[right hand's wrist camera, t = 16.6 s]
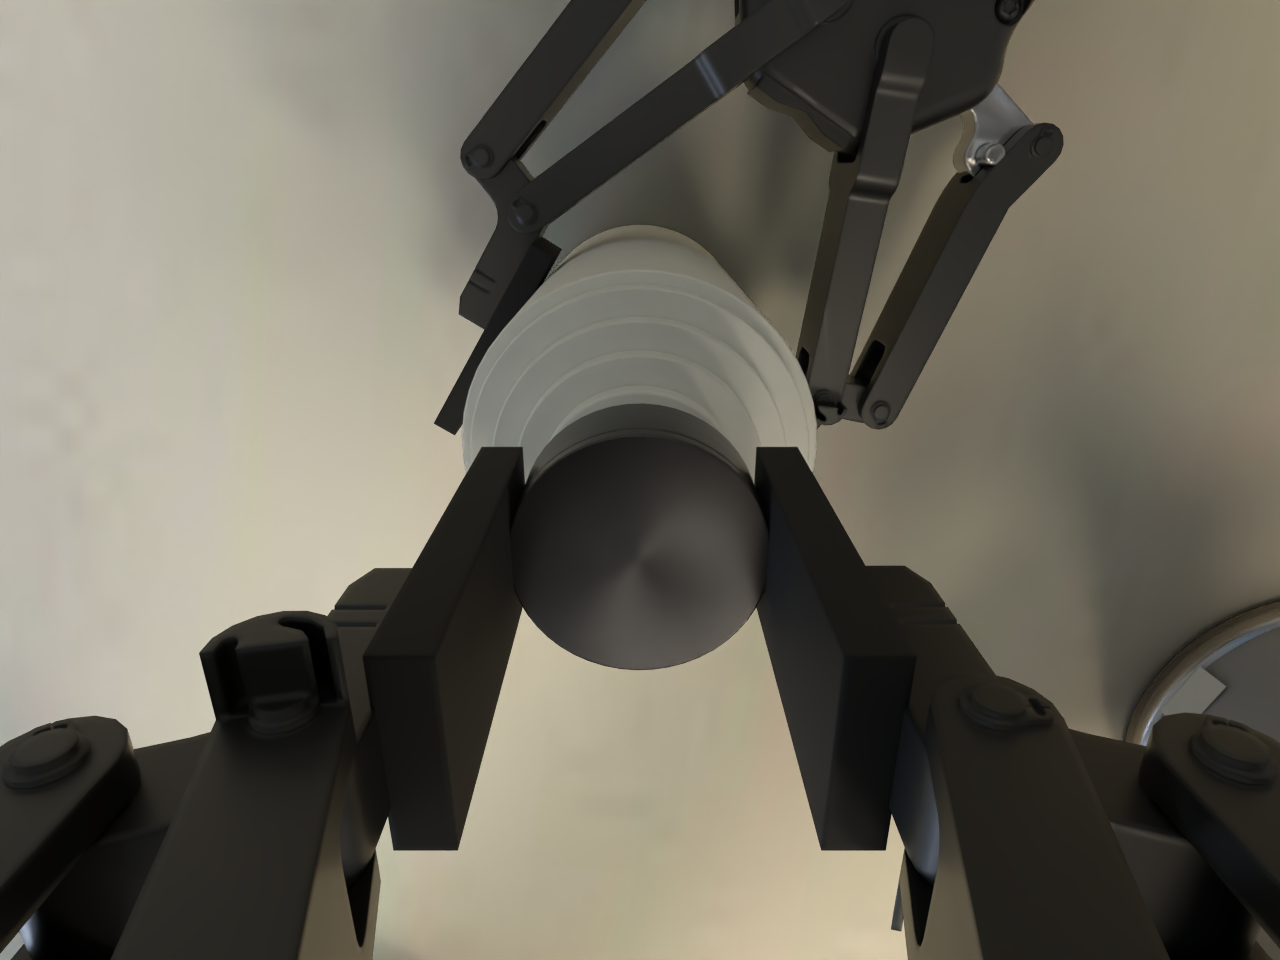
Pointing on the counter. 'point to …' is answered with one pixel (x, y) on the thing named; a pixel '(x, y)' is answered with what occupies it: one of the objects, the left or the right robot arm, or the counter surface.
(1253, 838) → the right robot arm
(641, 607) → the cap
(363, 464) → the counter surface
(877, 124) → the left robot arm
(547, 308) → the bottle
